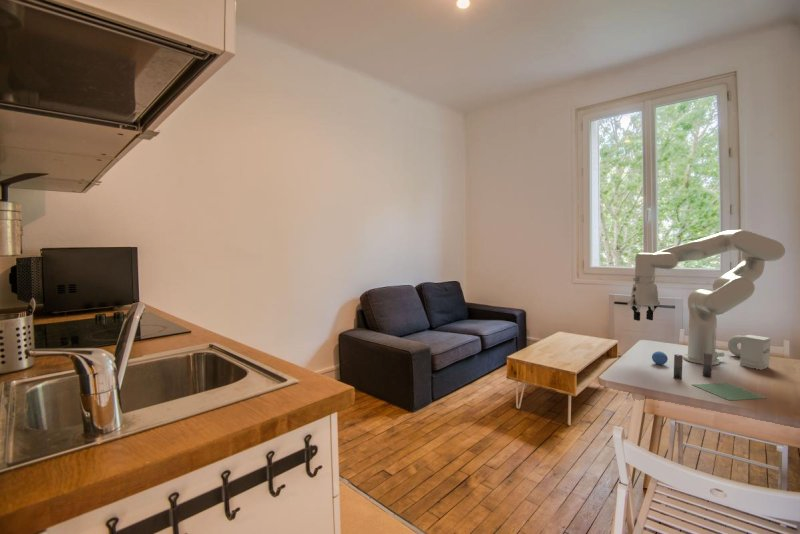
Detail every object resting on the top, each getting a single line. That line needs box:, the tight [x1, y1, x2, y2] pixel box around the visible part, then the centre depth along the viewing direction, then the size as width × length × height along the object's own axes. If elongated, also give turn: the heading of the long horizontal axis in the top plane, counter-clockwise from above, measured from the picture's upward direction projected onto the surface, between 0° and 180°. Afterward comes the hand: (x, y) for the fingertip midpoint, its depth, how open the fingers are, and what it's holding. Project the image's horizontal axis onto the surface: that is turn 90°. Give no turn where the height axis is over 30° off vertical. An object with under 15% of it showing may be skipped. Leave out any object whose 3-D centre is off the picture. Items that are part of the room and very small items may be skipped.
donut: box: [727, 335, 743, 358], centre depth 173 cm, size 10×4×10 cm, turn 18°
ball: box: [651, 350, 669, 366], centre depth 163 cm, size 6×6×6 cm
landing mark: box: [692, 382, 767, 402], centre depth 134 cm, size 14×14×1 cm
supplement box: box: [739, 334, 772, 371], centre depth 160 cm, size 7×7×13 cm
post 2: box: [702, 353, 713, 379], centre depth 148 cm, size 3×3×9 cm
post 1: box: [673, 354, 684, 381], centre depth 147 cm, size 3×3×9 cm
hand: (643, 319), depth 172 cm, fingers open, 5 cm apart
